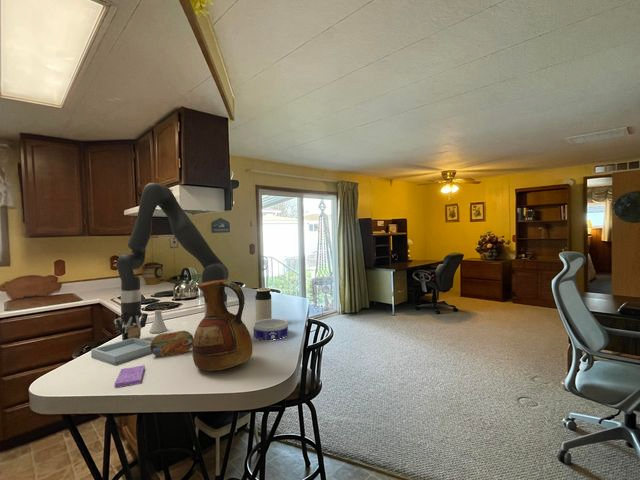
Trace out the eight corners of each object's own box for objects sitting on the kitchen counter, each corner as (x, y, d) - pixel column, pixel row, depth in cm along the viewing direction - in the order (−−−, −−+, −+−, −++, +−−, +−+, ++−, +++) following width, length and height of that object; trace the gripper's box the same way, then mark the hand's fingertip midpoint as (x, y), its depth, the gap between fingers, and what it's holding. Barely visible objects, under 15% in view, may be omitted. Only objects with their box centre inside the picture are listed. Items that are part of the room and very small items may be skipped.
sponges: (114, 389, 96) (114, 383, 96) (121, 373, 108) (120, 367, 108) (141, 385, 99) (141, 378, 99) (144, 369, 111) (144, 364, 110)
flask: (146, 332, 153) (145, 311, 152) (159, 328, 159) (158, 308, 159) (157, 334, 150) (157, 312, 150) (170, 330, 157) (169, 309, 156)
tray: (157, 351, 127) (157, 343, 127) (114, 365, 113) (114, 356, 113) (133, 344, 135) (133, 337, 135) (91, 357, 121) (91, 349, 121)
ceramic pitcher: (205, 355, 122) (204, 276, 122) (258, 355, 122) (257, 275, 121) (181, 377, 103) (180, 283, 102) (244, 377, 102) (243, 282, 102)
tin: (150, 358, 119) (150, 336, 119) (150, 356, 122) (150, 333, 122) (194, 351, 126) (193, 330, 126) (193, 349, 129) (192, 328, 129)
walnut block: (139, 341, 140) (139, 327, 140) (129, 344, 136) (129, 329, 136) (133, 339, 143) (133, 325, 143) (123, 342, 139) (123, 328, 139)
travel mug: (274, 323, 166) (274, 288, 166) (264, 327, 159) (263, 290, 159) (263, 321, 170) (262, 287, 170) (252, 325, 163) (252, 289, 163)
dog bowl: (284, 329, 156) (284, 317, 156) (291, 339, 141) (291, 325, 141) (252, 333, 151) (251, 320, 151) (255, 343, 136) (255, 328, 136)
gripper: (118, 304, 131) (119, 346, 131) (152, 298, 144) (152, 336, 144) (108, 302, 135) (109, 343, 135) (142, 296, 147) (142, 334, 148)
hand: (131, 339), depth 140 cm, fingers closed on walnut block, 4 cm apart
